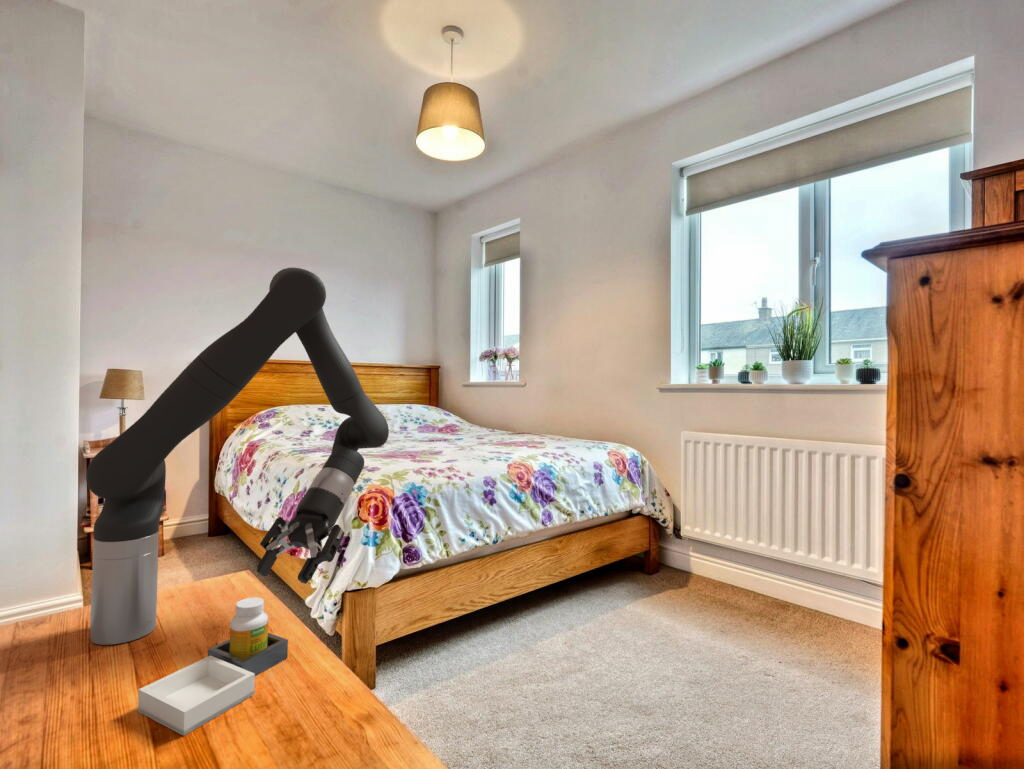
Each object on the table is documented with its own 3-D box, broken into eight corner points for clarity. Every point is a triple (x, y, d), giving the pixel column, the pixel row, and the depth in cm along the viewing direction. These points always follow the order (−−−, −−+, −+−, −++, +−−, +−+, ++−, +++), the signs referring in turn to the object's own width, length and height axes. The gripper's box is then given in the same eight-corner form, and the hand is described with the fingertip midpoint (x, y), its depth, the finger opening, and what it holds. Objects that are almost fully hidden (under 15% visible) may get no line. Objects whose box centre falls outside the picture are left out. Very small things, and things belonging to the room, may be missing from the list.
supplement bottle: (251, 675, 79) (253, 611, 79) (220, 670, 80) (222, 607, 80) (274, 657, 85) (276, 597, 85) (245, 652, 86) (247, 593, 86)
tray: (138, 711, 70) (138, 689, 70) (209, 675, 79) (210, 655, 79) (183, 736, 65) (184, 712, 65) (254, 694, 74) (254, 673, 74)
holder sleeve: (207, 668, 81) (207, 649, 81) (253, 645, 88) (254, 627, 88) (242, 683, 77) (242, 663, 77) (287, 658, 84) (287, 639, 84)
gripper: (286, 482, 99) (236, 561, 88) (350, 489, 95) (305, 573, 84) (305, 504, 104) (259, 581, 93) (366, 511, 100) (325, 594, 89)
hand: (281, 577), depth 89 cm, fingers open, 8 cm apart
